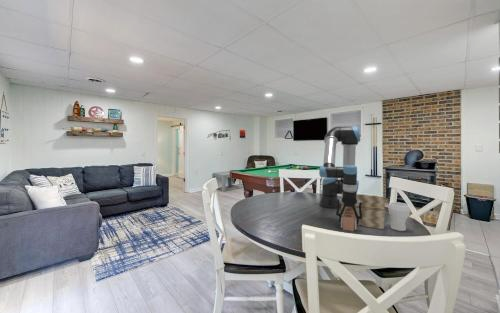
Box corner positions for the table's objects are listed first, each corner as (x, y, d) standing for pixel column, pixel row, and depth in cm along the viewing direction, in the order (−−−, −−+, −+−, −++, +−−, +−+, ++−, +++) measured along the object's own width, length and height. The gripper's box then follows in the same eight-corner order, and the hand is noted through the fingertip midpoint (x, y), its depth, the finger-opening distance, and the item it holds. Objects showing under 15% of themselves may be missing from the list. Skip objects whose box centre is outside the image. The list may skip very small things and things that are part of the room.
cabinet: (342, 229, 128) (343, 214, 128) (344, 223, 137) (344, 209, 137) (353, 231, 126) (354, 216, 125) (354, 225, 135) (354, 211, 134)
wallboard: (340, 222, 140) (341, 193, 138) (341, 220, 144) (342, 192, 143) (383, 229, 128) (385, 198, 127) (383, 226, 133) (384, 196, 131)
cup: (400, 224, 135) (401, 201, 134) (413, 232, 124) (414, 206, 123) (383, 225, 135) (384, 201, 134) (395, 232, 124) (396, 207, 123)
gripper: (331, 190, 130) (330, 227, 131) (368, 194, 120) (367, 233, 122) (332, 188, 136) (332, 223, 138) (368, 191, 127) (367, 229, 128)
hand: (348, 228), depth 130 cm, fingers open, 7 cm apart
